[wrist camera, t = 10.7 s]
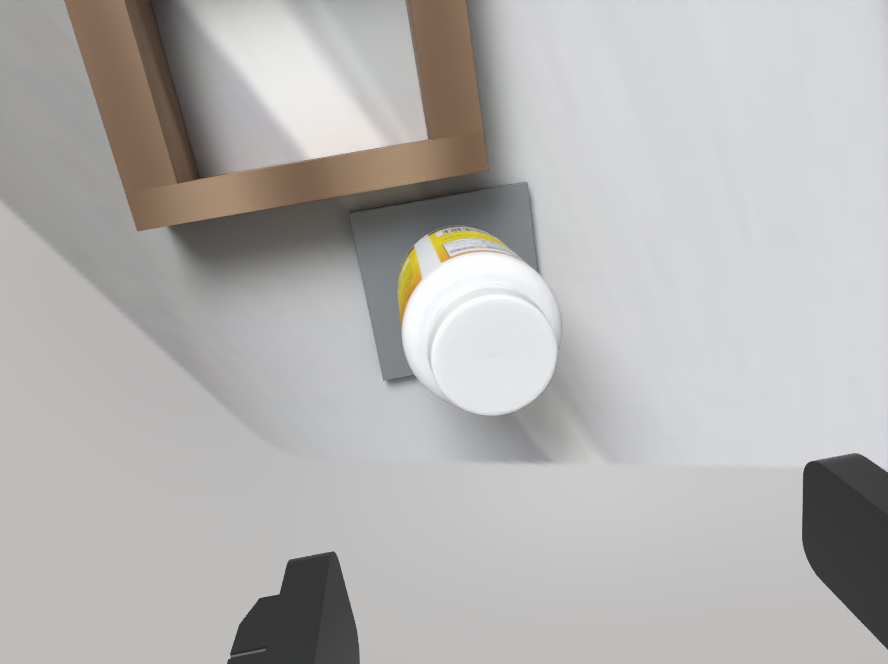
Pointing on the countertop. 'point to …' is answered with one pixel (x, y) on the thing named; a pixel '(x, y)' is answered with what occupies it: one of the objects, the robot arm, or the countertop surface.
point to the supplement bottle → (477, 321)
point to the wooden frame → (192, 199)
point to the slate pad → (402, 225)
